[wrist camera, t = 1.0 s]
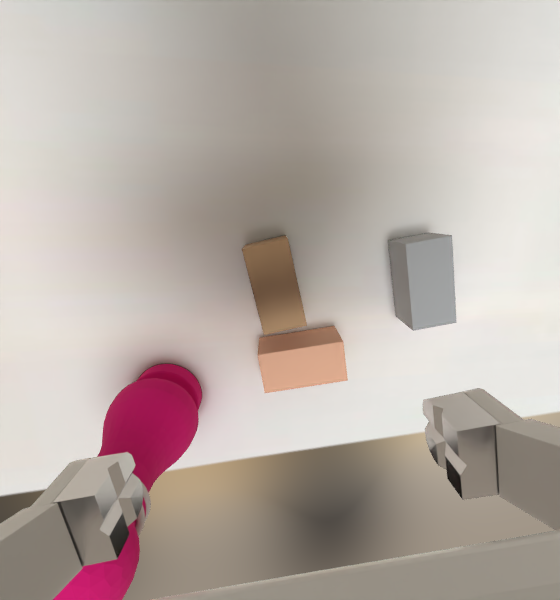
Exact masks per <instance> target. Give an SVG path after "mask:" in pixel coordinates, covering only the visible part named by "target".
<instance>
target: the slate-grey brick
mask: <svg viewBox="0 0 560 600" xmlns="http://www.w3.org/2000/svg"><path fill="white" fill-rule="evenodd" d="M388 245H389V255H390V265H391V275H392V285H393V295H394V305H395V315H396V317H397V318H398V319H400V320H401V321H402V322H403V323H405V324H406V325H407V326H408V327H409V328H411V329H412V330H419V329H424V328H430V327H435V326H440V325H446V324H451V323H456V306H455V287H454V267H453V247H452V235H443V234H435V233H424V234H419V235H413V236H408V237H403V238H398V239H392V240H388Z"/></svg>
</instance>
